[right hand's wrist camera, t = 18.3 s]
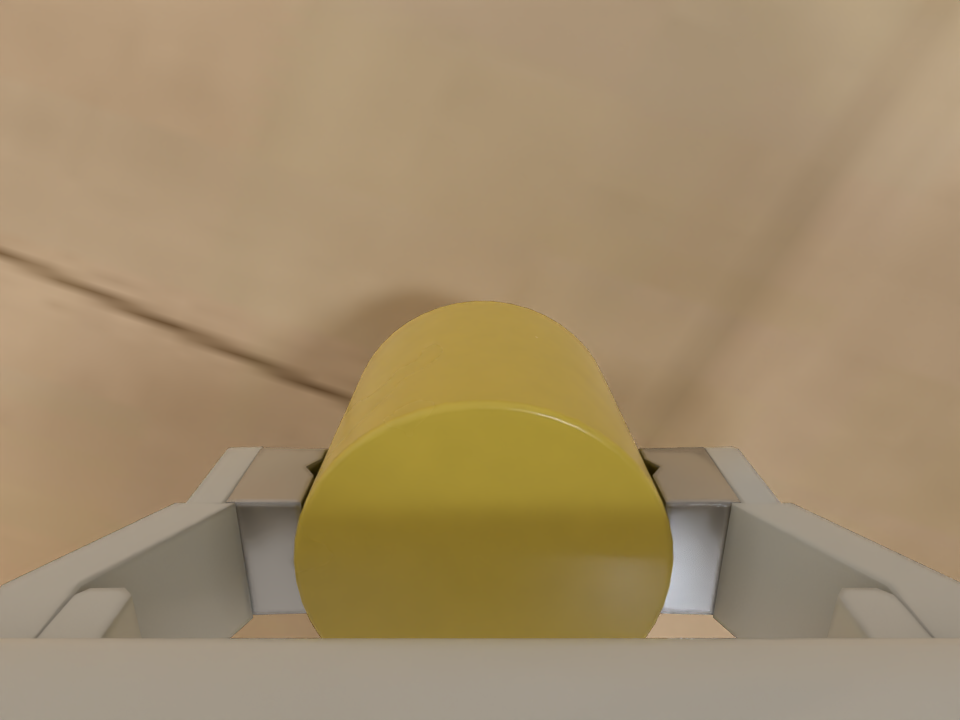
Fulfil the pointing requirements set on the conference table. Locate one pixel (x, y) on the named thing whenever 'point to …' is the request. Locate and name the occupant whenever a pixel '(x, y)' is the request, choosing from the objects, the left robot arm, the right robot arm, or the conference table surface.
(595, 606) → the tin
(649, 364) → the conference table surface
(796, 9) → the conference table surface
